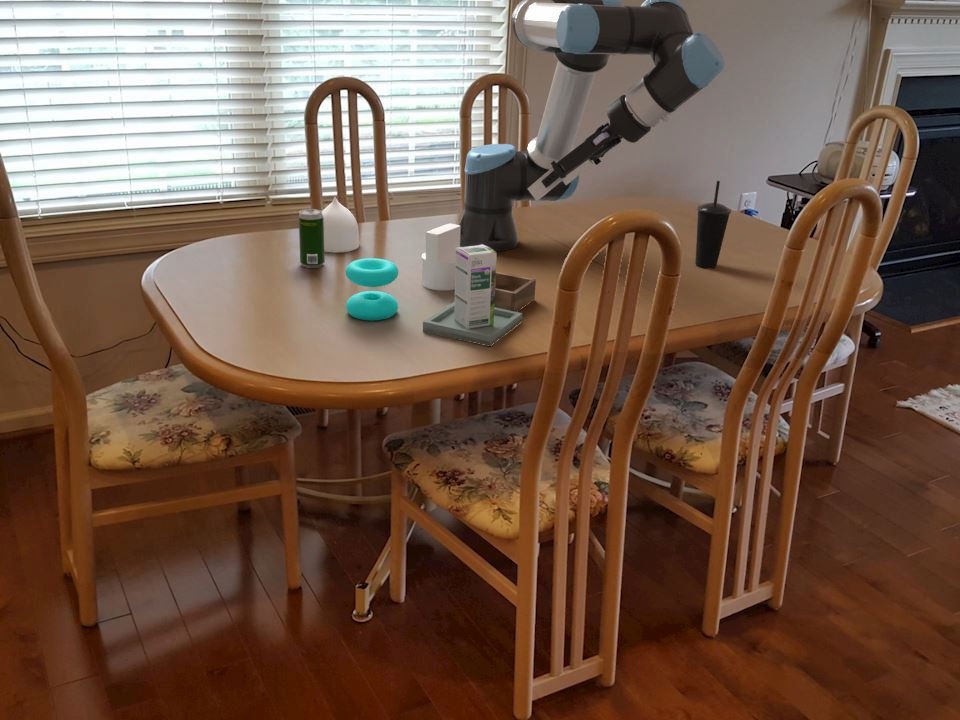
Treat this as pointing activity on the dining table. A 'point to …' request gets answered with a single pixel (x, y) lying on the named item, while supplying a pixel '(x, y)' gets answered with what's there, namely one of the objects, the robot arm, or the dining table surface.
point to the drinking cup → (710, 231)
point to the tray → (486, 335)
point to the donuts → (372, 302)
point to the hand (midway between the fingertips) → (547, 186)
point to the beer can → (311, 238)
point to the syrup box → (475, 286)
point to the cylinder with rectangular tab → (440, 257)
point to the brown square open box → (513, 291)
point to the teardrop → (339, 229)
